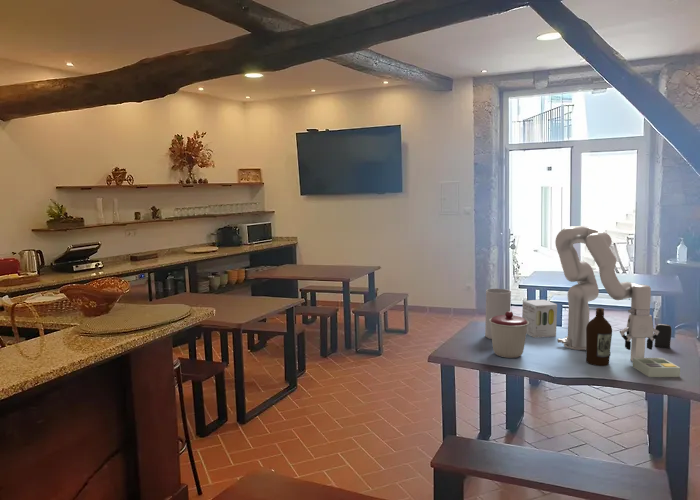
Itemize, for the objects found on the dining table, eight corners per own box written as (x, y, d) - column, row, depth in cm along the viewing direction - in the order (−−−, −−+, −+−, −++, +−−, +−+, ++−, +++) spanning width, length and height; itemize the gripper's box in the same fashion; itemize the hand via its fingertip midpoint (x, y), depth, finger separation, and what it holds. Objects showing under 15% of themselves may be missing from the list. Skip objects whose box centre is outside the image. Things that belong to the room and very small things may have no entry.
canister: (486, 358, 249) (487, 314, 247) (490, 347, 266) (491, 306, 264) (527, 362, 243) (528, 317, 241) (528, 351, 260) (530, 308, 258)
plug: (635, 362, 243) (636, 332, 241) (630, 359, 246) (632, 330, 245) (643, 362, 242) (645, 332, 241) (639, 359, 246) (641, 330, 245)
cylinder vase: (512, 340, 278) (513, 293, 275) (488, 340, 278) (489, 293, 275) (505, 333, 291) (507, 288, 288) (482, 334, 291) (483, 288, 288)
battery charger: (670, 346, 266) (671, 324, 265) (670, 348, 263) (672, 325, 262) (653, 344, 270) (655, 322, 268) (654, 346, 266) (655, 324, 265)
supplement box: (534, 338, 283) (535, 305, 281) (521, 331, 295) (522, 300, 293) (556, 336, 285) (558, 304, 283) (543, 330, 298) (544, 299, 296)
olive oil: (579, 359, 247) (582, 306, 244) (599, 358, 249) (602, 305, 246) (595, 367, 236) (597, 311, 233) (615, 365, 239) (618, 310, 236)
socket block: (648, 377, 224) (649, 367, 224) (632, 366, 237) (633, 357, 237) (679, 376, 224) (680, 366, 224) (661, 366, 237) (662, 357, 237)
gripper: (625, 314, 238) (623, 351, 240) (664, 313, 238) (662, 351, 240) (616, 310, 246) (615, 346, 247) (654, 309, 245) (653, 346, 247)
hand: (638, 348), depth 244 cm, fingers open, 9 cm apart
